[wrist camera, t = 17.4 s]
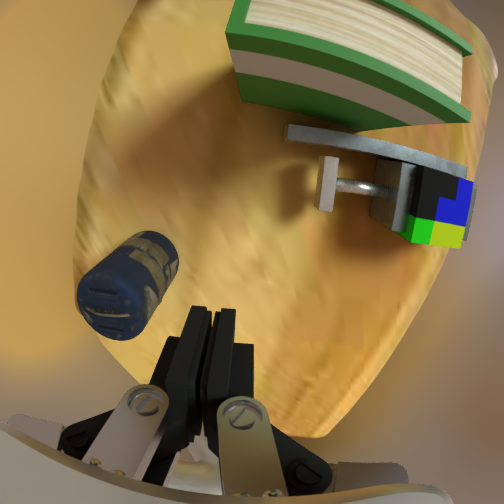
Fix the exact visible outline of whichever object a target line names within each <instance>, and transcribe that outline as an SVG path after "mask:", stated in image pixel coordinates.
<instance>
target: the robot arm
mask: <svg viewBox="0 0 504 504" xmlns="http://www.w3.org/2000/svg"><path fill="white" fill-rule="evenodd" d="M235 316H236V309H226V308H221V312H218V311H216V312H215V316H214V321H213V326H212V311H207V307H204V306H193V305H192V306H191V309H190V312H189V314H188V317H187V320H186V323H185V325H184V328H183V331H182V334H181V336H180V337H174V336H169V337H168V338H167V340H166V343H165V345H164V348H163V350H162V353H161V355H160V357H159V360H158V362H157V365H156V367H155V370H154V373H153V375H152V378H151V380H150V383H149V384H142V385H138V386H134V387H133V388H131V389H129V390H128V391H127V392H126V393H125V394H124V396H123V398H122V399H121V401H120V402H119V404H118V405H117V407H116V408H115V409H113V410H110V411H108V412H105V413H103V414H100V415H97V416H95V417H92V418H89V419H86V420H83V421H81V422H78V423H75V424H72V425H70V426H68V427H65V426H64V425H63V424H62V423H57V422H51V421H47V420H43V419H38V418H35V417H30V416H27V415H23V414H17V415H14V416H12V417H11V418H10V419H9V420H8V422H7V424H6V423H4V422H2V421H0V504H454V503H453V501H452V500H451V498H450V497H449V496H448V495H447V493H446V492H444V491H443V490H442V489H440V488H438V487H435V486H432V485H427V484H418V483H408V474H407V471H406V470H405V468H404V467H403V466H401V465H399V464H397V463H391V462H389V463H388V462H387V463H359V462H337V464H333V463H327V462H325V461H324V460H323V459H321V458H320V457H318V456H317V455H315V454H314V453H312V452H310V451H309V450H307V449H306V448H304V447H303V446H301V445H300V444H298V443H297V442H296V441H294V440H293V439H291V438H290V437H288V436H287V435H286V434H284V433H283V432H281V431H280V430H279V429H277V428H276V427H275V426H273V425H272V424H270V420H269V416H268V412H267V410H266V408H265V406H264V405H263V404H262V403H261V402H259V401H257V400H256V399H254V344H244V343H234V334H235ZM185 447H187V448H188V450H189V452H190V453H191V455H192V456H193V458H194V459H195V460H196V462H193V461H184V460H179V457H180V454H181V450H182V449H184V448H185Z"/></svg>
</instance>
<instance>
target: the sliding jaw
mask: <svg viewBox="0 0 504 504" xmlns="http://www.w3.org/2000/svg"><path fill="white" fill-rule="evenodd" d="M338 163H339V158H336V157H330V156H321V155H320V158H319V167H318V177H317V185H316V194H315V202H314V206H315V207H316V208H317V209H318V210H319V211H328V212H332V210H333V203H334V196H335V191H340V192H347V193H354V194H360V195H367V196H372V200H371V206H370V212H369V216H370V217H371V218H373V219H375V220H376V221H378V222H379V223H381V224H382V225H384V226H386V227H387V228H389V229H390V230H392V231H400V232H406V229H407V225H408V220H409V215H410V209H411V204H412V198H413V192H414V185H415V178H416V170H417V166H414V165H411V164H407V163H403V162H396V161H388V160H380V159H377V162H376V171H375V179H374V183H368V182H362V181H356V180H350V179H344V178H337V172H338Z"/></svg>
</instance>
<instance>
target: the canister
mask: <svg viewBox="0 0 504 504" xmlns="http://www.w3.org/2000/svg"><path fill="white" fill-rule="evenodd" d="M178 266H179V259H178V254H177V251H176V249H175V247H174V245H173V244H172V243H171V241H170V240H169V239H168V238H166V237H165V236H164V235H162V234H160V233H157V232H154V231H143V232H139V233H137V234H135V235H134V236H132V237H131V238H130V239H128V240H127V241H126V242H124V243H123V244H122V245H120V246H119V247H118V248H116V249H115V250H114V251H113V252H112V253H111V254H110V255H108V256H107V257H106V258H104V259H103V260H102V261H101V262H99V263H98V264H97V265H96V266H95V267H93V268H92V269H91V270H90V271H89V272H88V273H86V274H85V275H84V276H83V278H82V279H81V281H80V283H79V285H78V290H77V301H78V306H79V309H80V311H81V313H82V315H83V317H84V319H85V320H86V321H87V323H88V324H89V325H90V326H91V327H92V328H93V329H94V330H95V331H97V332H98V333H99V334H101V335H103V336H105V337H107V338H110V339H113V340H119V341H125V340H130V339H133V338H135V337H136V336H138V335H139V334H140V333H141V332H142V331H143V329H144V328H145V326H146V325H147V323H148V321H149V320H150V318H151V316H152V315H153V313H154V311H155V310H156V308H157V306H158V305H159V304H160V303H161V301H162V298H163V296H164V294H165V292H166V290H167V289H168V287H169V285H170V284H171V282H172V281H173V279H174V277H175V275H176V273H177V270H178Z"/></svg>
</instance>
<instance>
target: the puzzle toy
mask: <svg viewBox="0 0 504 504" xmlns="http://www.w3.org/2000/svg"><path fill="white" fill-rule="evenodd" d="M411 165H413V164H411ZM414 166H417V170H416V178H415V185H414V192H413V198H412V204H411V209H410V215H409V220H408V225H407V229H406V232H400V231H394V232H396V233H397V234H399V235H400V236H402V237H403V238H405V239H406V240H408V241H409V242H411V243H419V244H427V245H436V246H443V247H452V248H460V247H461V243H462V239H463V235H464V231H465V227H466V222H467V217H468V212H469V207H470V201H471V196H472V189H473V182H471V181H469V180H466V179H463V178H460V177H457V176H454V175H451V174H448V173H445V172H441V171H438V170H435V169H432V168H428V167H425V166H419V165H414Z"/></svg>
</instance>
